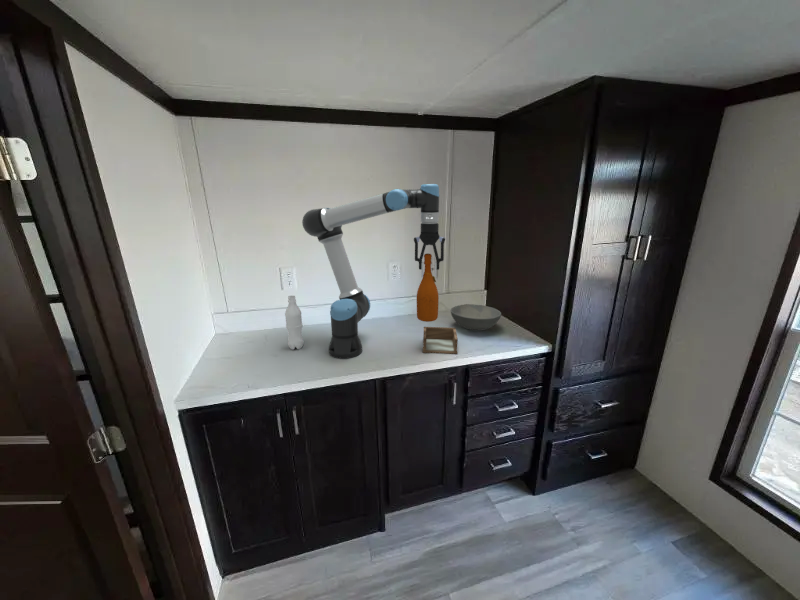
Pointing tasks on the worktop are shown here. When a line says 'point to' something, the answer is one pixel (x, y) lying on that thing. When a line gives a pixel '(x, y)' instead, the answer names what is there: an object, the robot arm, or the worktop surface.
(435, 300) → the wine bottle
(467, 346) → the worktop surface
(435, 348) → the walnut U-rest
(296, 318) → the water bottle
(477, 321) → the bowl
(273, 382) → the worktop surface
